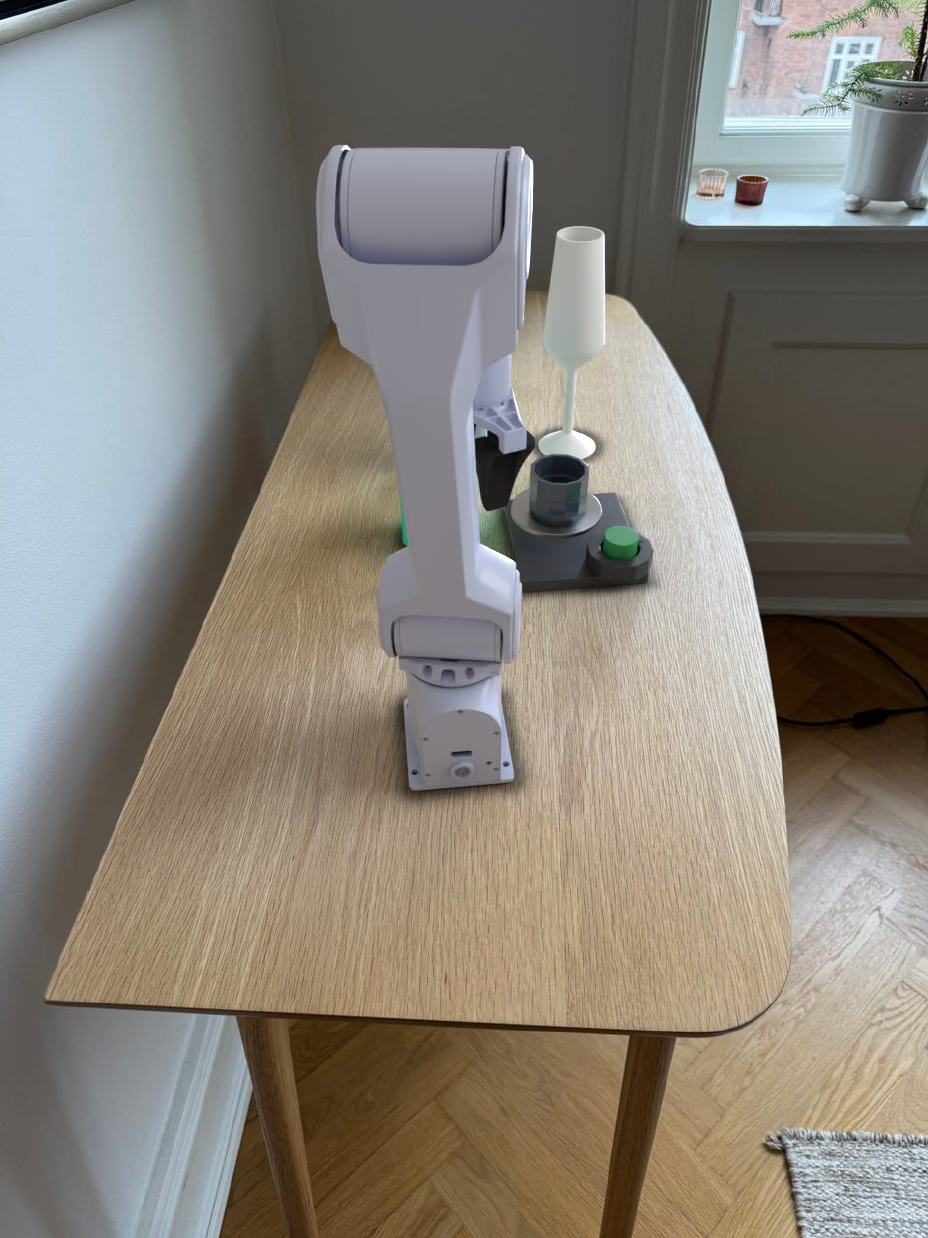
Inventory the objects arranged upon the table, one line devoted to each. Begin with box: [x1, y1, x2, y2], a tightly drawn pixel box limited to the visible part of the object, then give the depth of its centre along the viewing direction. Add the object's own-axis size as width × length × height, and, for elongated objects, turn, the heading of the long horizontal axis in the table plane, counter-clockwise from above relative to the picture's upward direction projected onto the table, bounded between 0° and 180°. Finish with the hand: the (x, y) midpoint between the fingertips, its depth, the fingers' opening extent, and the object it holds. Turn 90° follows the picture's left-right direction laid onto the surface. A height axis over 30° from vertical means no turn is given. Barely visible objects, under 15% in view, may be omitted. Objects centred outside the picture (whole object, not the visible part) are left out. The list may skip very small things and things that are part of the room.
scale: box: [503, 492, 655, 593], centre depth 91 cm, size 15×12×3 cm
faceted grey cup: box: [529, 454, 590, 522], centre depth 89 cm, size 6×6×4 cm
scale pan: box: [511, 487, 602, 539], centre depth 91 cm, size 9×9×1 cm
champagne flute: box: [537, 225, 606, 460], centre depth 99 cm, size 7×7×24 cm
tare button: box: [603, 526, 639, 560], centre depth 86 cm, size 3×3×2 cm
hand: (476, 485), depth 82 cm, fingers open, 7 cm apart
